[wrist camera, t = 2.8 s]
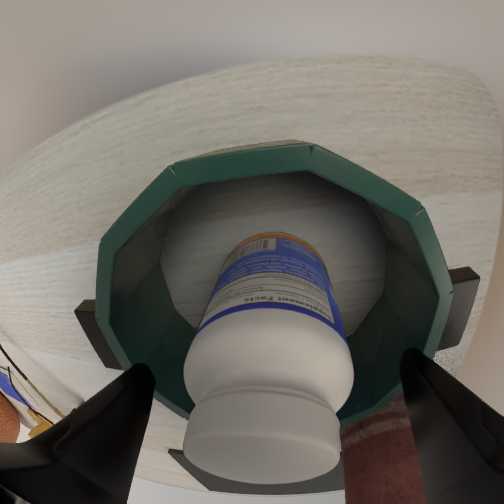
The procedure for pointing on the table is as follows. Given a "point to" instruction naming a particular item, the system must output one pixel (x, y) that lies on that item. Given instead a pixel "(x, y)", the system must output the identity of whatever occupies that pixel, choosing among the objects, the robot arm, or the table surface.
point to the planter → (8, 422)
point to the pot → (360, 343)
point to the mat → (215, 483)
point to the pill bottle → (268, 367)
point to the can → (382, 458)
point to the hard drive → (2, 380)
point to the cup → (40, 427)
